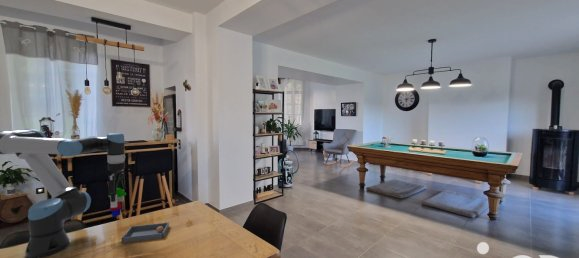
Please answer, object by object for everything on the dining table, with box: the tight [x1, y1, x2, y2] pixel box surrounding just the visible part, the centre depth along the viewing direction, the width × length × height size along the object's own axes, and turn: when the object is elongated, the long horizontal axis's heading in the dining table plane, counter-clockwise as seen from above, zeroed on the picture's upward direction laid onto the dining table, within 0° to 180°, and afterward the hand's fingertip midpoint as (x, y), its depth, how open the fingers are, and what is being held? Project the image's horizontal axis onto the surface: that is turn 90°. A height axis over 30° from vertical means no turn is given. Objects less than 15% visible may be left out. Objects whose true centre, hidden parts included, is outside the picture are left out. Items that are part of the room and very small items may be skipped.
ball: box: [156, 226, 164, 233], centre depth 133 cm, size 4×4×4 cm
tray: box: [121, 222, 170, 244], centre depth 131 cm, size 19×13×3 cm
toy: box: [107, 187, 127, 218], centre depth 129 cm, size 8×8×15 cm
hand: (117, 204), depth 129 cm, fingers closed on toy, 8 cm apart
